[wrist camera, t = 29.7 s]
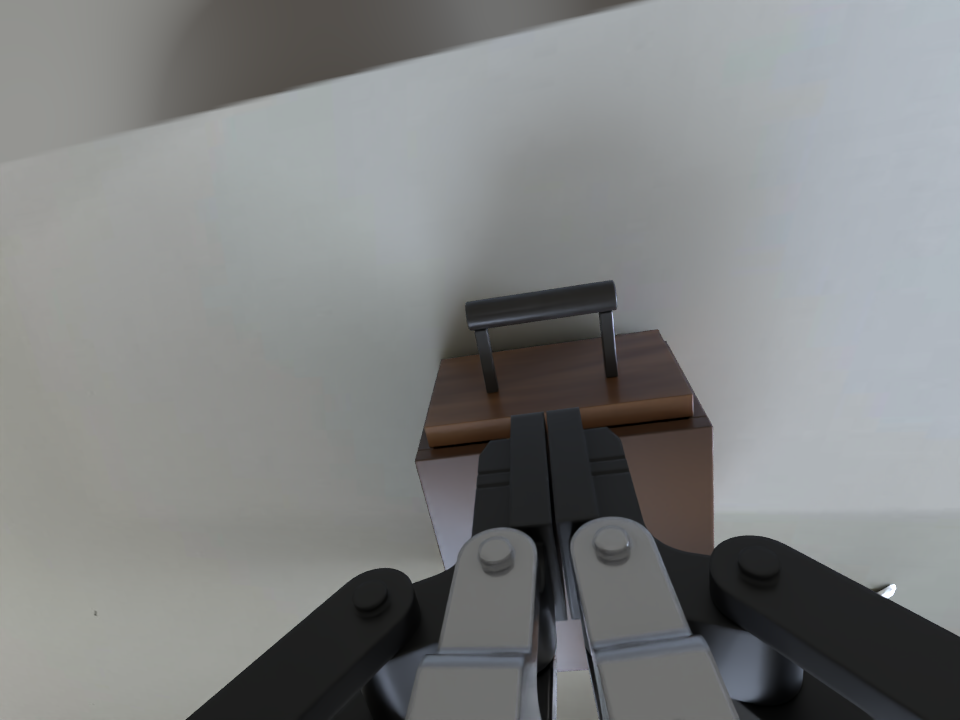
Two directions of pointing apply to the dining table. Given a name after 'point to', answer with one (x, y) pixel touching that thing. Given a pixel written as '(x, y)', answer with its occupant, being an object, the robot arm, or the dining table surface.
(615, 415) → the drawer
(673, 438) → the cabinet
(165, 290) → the dining table surface
